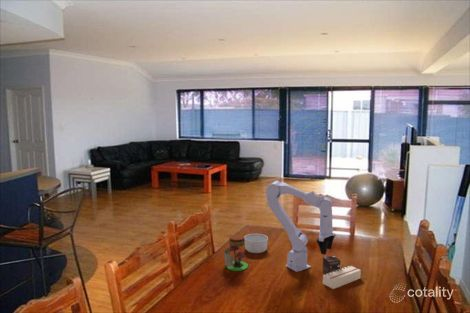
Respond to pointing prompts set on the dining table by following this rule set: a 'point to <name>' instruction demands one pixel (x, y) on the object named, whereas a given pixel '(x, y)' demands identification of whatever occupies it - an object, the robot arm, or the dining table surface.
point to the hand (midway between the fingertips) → (326, 251)
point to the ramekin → (256, 243)
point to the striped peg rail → (341, 277)
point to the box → (330, 264)
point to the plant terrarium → (234, 245)
